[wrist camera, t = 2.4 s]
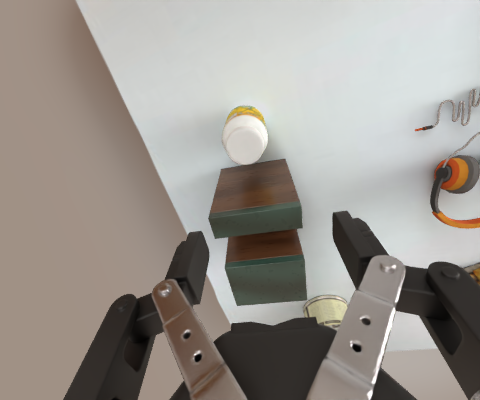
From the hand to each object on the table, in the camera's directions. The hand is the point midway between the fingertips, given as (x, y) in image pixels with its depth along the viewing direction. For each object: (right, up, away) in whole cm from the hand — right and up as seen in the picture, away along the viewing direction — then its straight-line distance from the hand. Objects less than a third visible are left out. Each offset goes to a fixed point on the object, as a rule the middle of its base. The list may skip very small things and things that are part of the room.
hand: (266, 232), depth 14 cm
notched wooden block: (+2, +1, +25) cm, 25 cm away
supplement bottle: (-1, +13, +18) cm, 22 cm away
